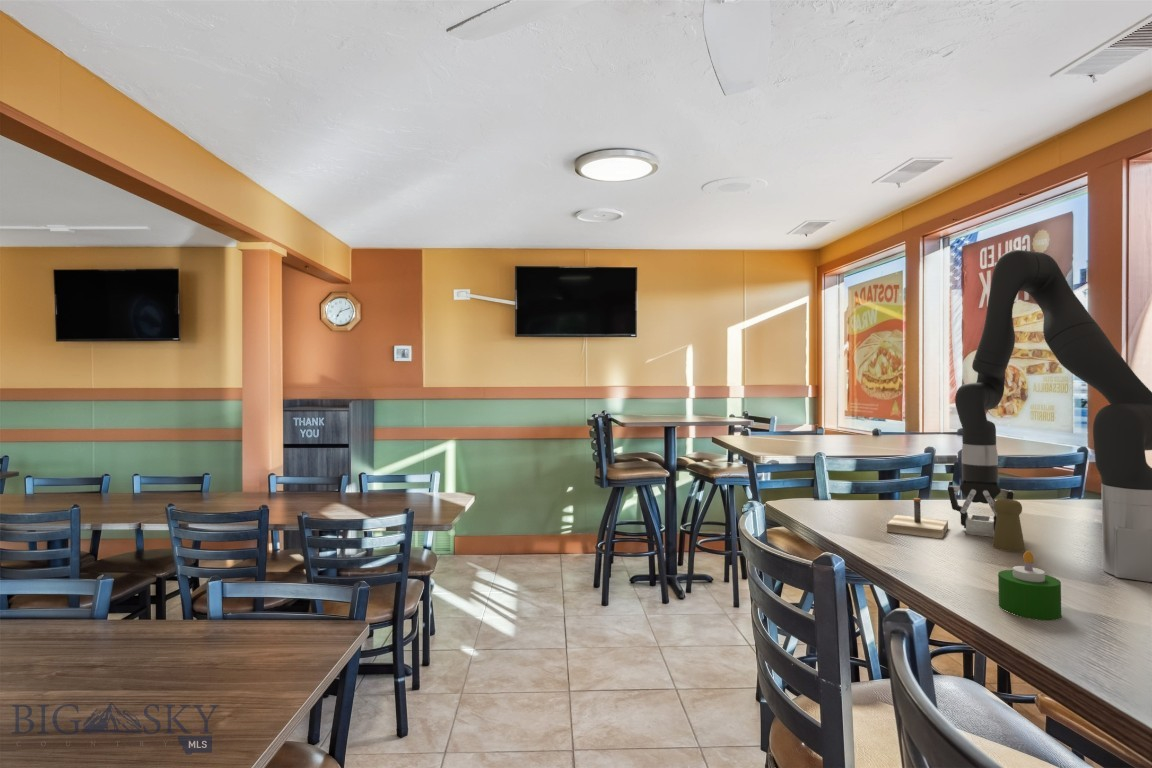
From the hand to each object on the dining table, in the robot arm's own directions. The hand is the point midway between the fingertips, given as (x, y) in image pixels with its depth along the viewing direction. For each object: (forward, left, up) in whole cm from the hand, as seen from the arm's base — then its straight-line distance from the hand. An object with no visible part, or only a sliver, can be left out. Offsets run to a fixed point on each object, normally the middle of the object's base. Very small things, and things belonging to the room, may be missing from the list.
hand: (980, 529), depth 148 cm
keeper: (-6, +13, -1) cm, 14 cm away
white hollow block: (0, 0, -1) cm, 1 cm away
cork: (-13, -6, -1) cm, 14 cm away
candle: (-55, -10, -1) cm, 56 cm away
